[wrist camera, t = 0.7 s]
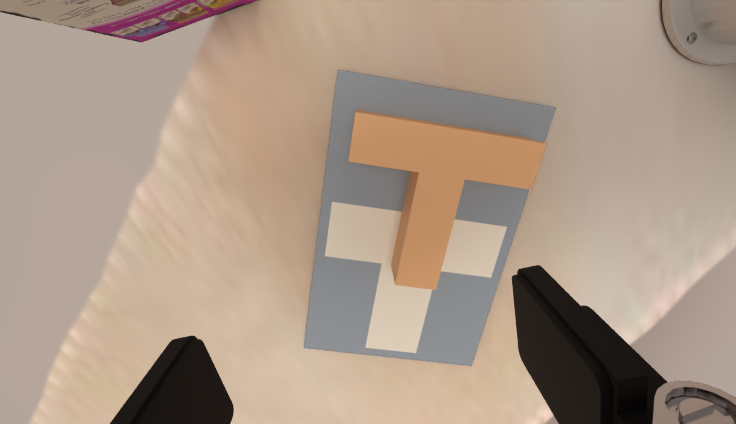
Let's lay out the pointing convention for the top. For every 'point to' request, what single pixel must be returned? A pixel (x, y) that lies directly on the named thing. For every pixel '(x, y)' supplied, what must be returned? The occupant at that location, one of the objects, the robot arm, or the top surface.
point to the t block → (437, 179)
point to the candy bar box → (120, 14)
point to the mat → (381, 222)
